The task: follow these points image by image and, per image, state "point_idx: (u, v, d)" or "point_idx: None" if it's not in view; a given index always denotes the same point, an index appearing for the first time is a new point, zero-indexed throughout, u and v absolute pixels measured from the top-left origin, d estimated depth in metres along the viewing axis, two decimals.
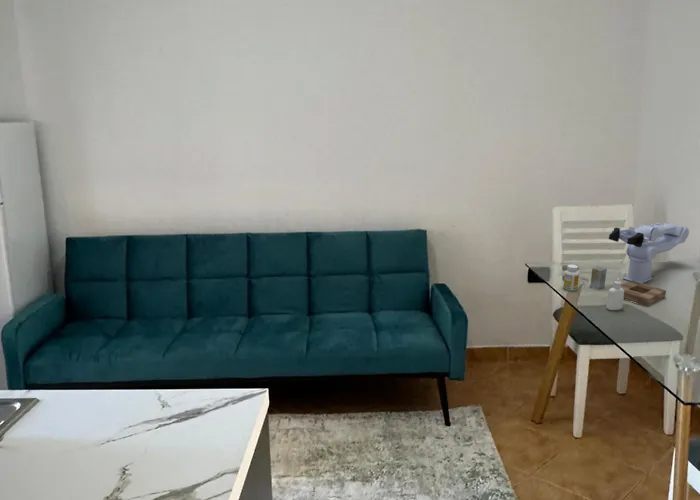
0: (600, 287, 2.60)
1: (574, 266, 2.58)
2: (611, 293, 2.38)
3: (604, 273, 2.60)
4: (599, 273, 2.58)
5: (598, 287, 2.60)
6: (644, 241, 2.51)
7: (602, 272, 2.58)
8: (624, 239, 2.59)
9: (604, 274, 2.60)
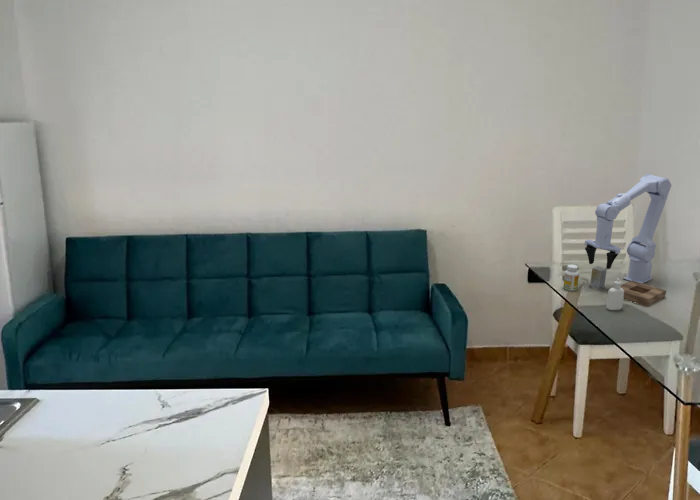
0: (600, 287, 2.60)
1: (574, 266, 2.58)
2: (611, 293, 2.38)
3: (604, 273, 2.60)
4: (599, 273, 2.58)
5: (598, 287, 2.60)
6: None
7: (602, 272, 2.58)
8: None
9: (604, 274, 2.60)
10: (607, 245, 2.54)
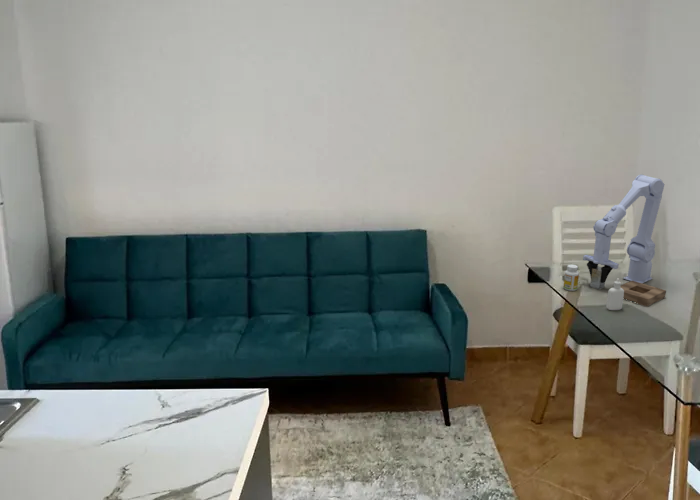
0: (600, 287, 2.60)
1: (574, 266, 2.58)
2: (611, 293, 2.38)
3: None
4: (599, 273, 2.58)
5: (598, 287, 2.60)
6: None
7: None
8: None
9: None
10: (605, 260, 2.56)
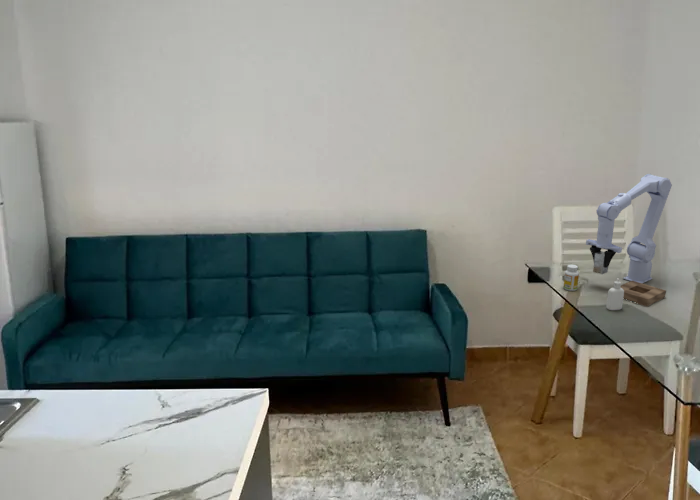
0: (603, 272, 2.58)
1: (574, 266, 2.58)
2: (611, 293, 2.38)
3: None
4: (602, 257, 2.56)
5: (601, 272, 2.58)
6: None
7: None
8: None
9: None
10: (608, 244, 2.54)
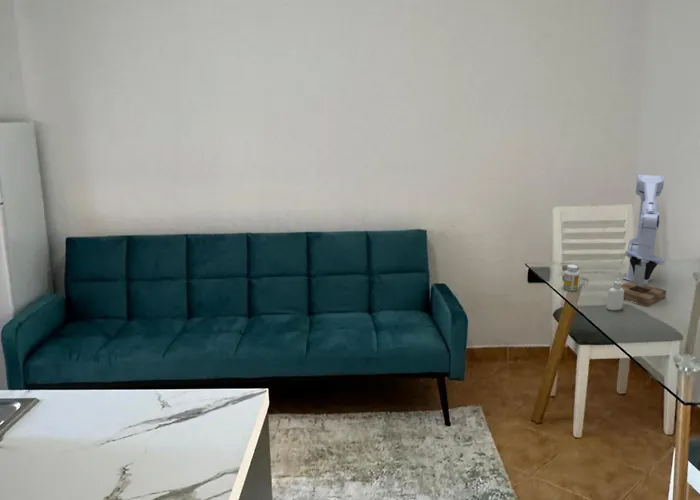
0: (644, 284, 2.48)
1: (574, 266, 2.58)
2: (611, 293, 2.38)
3: None
4: (643, 269, 2.46)
5: (642, 284, 2.48)
6: None
7: None
8: None
9: None
10: (650, 256, 2.44)
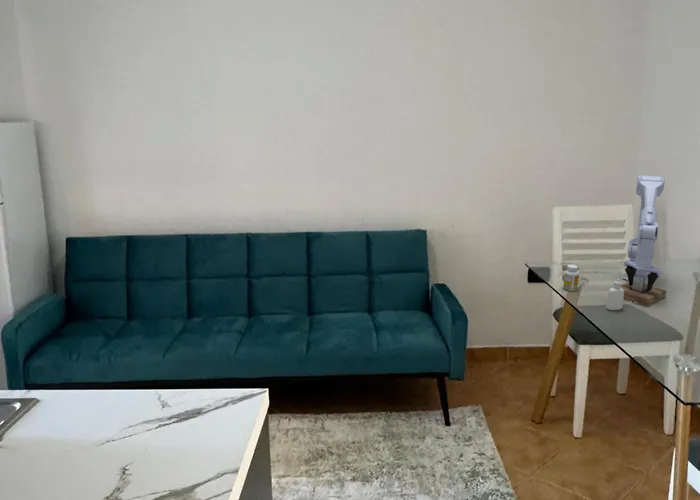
0: None
1: (574, 266, 2.58)
2: (611, 293, 2.38)
3: (646, 281, 2.49)
4: (642, 281, 2.48)
5: None
6: None
7: (644, 280, 2.48)
8: None
9: (646, 282, 2.49)
10: (648, 266, 2.46)
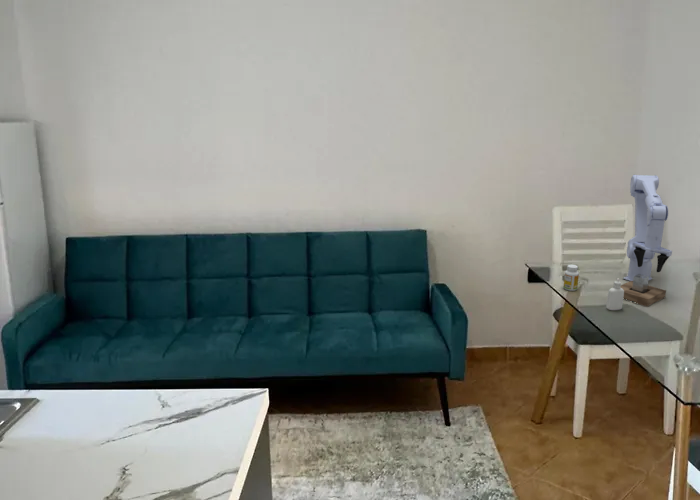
0: None
1: (574, 266, 2.58)
2: (611, 293, 2.38)
3: (646, 281, 2.49)
4: (642, 281, 2.48)
5: None
6: None
7: (644, 280, 2.48)
8: None
9: (646, 282, 2.49)
10: (658, 247, 2.47)
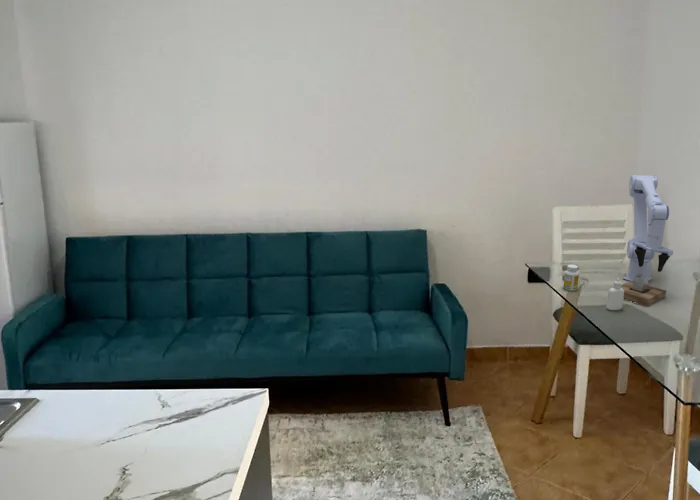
0: None
1: (574, 266, 2.58)
2: (611, 293, 2.38)
3: (646, 281, 2.49)
4: (642, 281, 2.48)
5: None
6: None
7: (644, 280, 2.48)
8: None
9: (646, 282, 2.49)
10: (659, 247, 2.47)
